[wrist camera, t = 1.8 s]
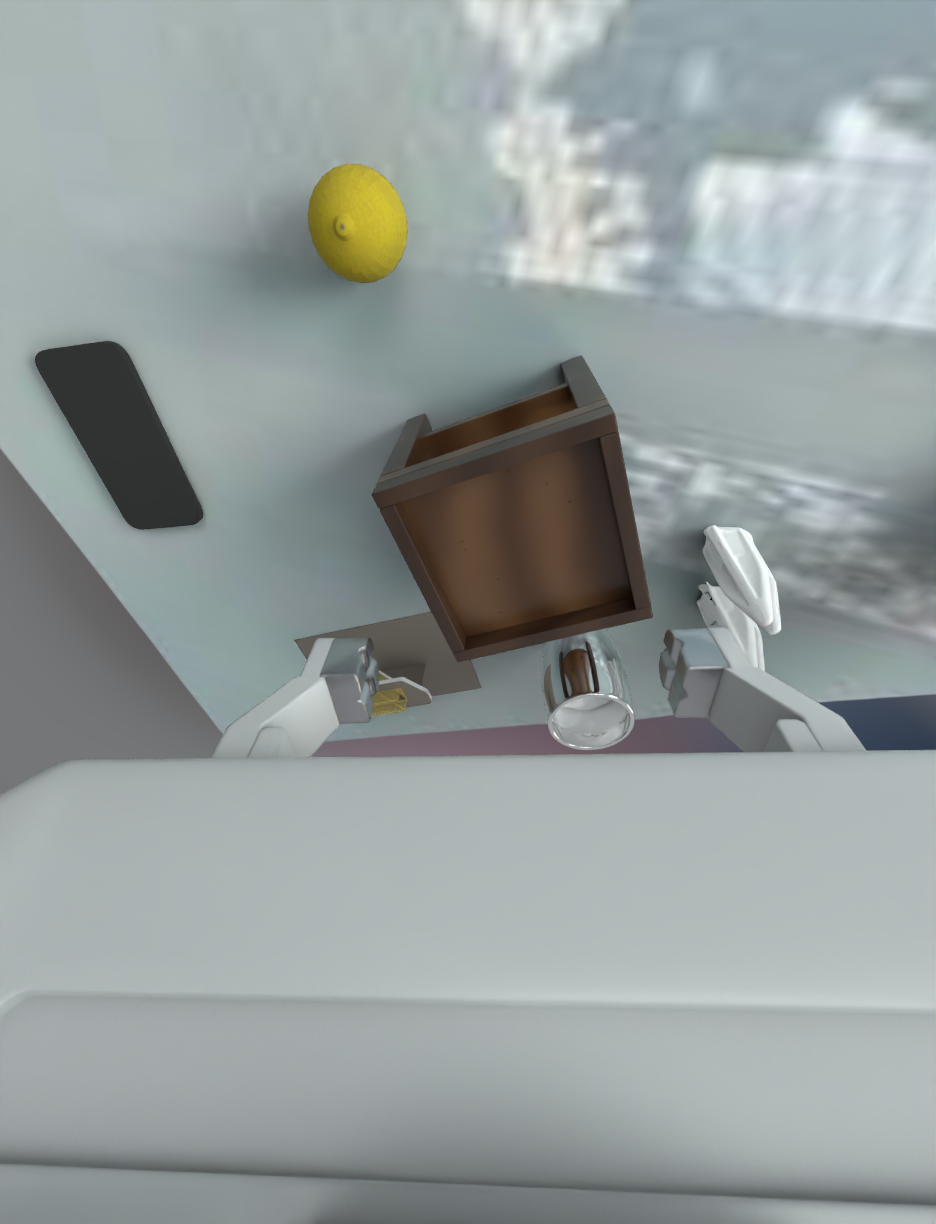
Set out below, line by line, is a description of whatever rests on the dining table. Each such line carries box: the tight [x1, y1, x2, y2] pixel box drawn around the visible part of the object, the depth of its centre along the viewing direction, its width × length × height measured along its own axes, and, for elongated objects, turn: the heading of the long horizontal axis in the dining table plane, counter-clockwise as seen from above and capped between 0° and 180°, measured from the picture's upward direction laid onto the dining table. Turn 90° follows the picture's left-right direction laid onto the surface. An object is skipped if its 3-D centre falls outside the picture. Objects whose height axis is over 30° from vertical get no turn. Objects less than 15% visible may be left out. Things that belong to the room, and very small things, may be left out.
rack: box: [372, 356, 653, 662], centre depth 37 cm, size 14×14×14 cm
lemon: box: [308, 164, 408, 283], centre depth 30 cm, size 6×6×8 cm
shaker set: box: [697, 525, 781, 672], centre depth 43 cm, size 12×4×11 cm, turn 14°
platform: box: [294, 612, 481, 717], centre depth 55 cm, size 12×18×7 cm, turn 107°
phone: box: [35, 341, 203, 529], centre depth 42 cm, size 7×1×15 cm
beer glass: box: [542, 629, 635, 750], centre depth 45 cm, size 7×7×15 cm
